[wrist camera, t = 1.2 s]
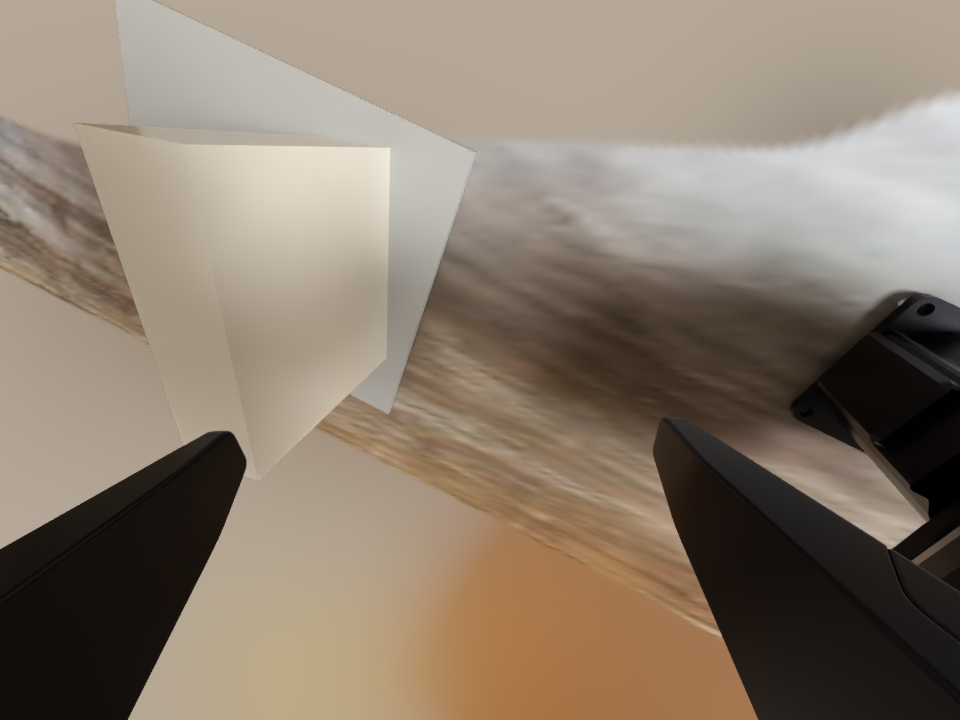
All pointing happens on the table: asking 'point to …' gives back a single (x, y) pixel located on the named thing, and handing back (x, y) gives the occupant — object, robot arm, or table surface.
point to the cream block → (250, 271)
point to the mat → (302, 111)
